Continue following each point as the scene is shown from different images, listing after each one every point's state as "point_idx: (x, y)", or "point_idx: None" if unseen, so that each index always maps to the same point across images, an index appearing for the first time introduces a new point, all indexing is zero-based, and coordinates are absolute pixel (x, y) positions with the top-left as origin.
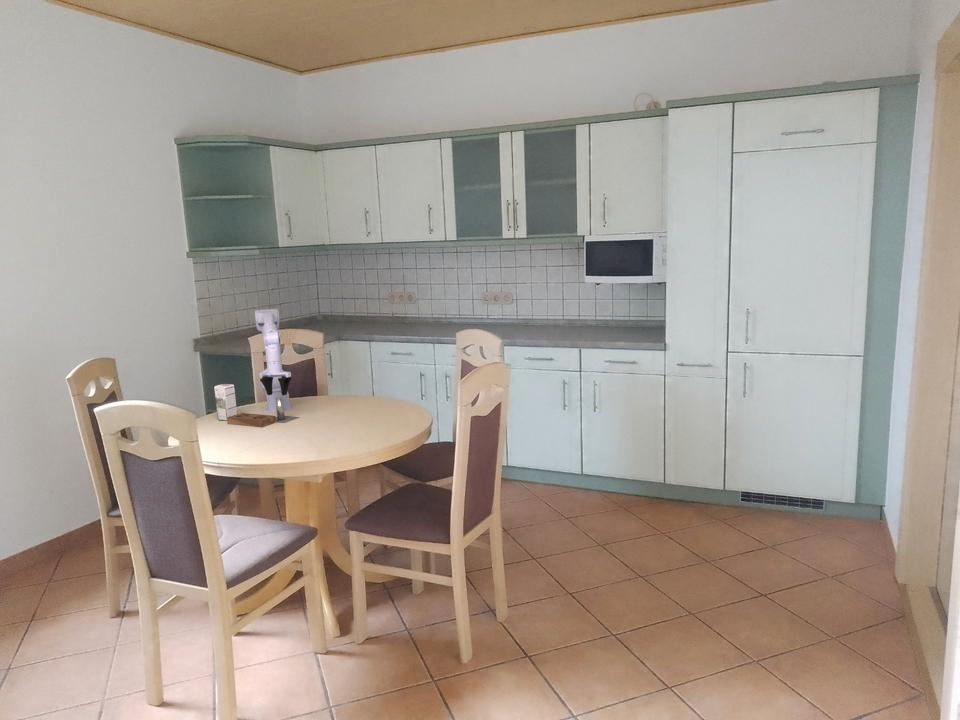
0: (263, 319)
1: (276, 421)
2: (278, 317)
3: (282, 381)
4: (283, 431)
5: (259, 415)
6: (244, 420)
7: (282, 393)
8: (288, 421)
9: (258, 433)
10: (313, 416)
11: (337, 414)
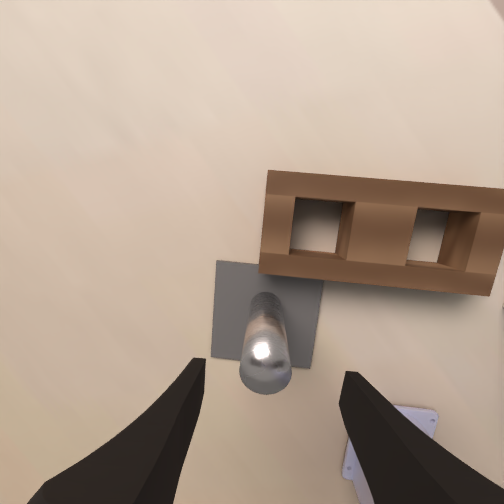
0: None
1: (268, 278)
2: None
3: (74, 469)
4: (139, 150)
5: (350, 264)
6: (385, 180)
7: (191, 364)
8: (215, 288)
9: (227, 90)
10: None
11: (106, 417)
